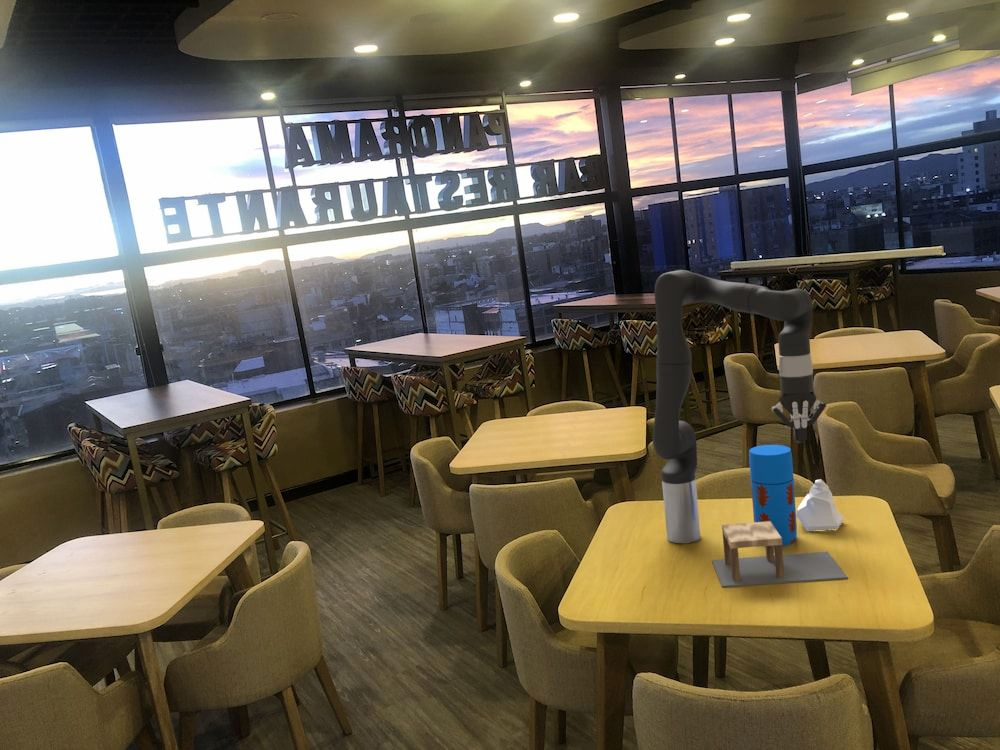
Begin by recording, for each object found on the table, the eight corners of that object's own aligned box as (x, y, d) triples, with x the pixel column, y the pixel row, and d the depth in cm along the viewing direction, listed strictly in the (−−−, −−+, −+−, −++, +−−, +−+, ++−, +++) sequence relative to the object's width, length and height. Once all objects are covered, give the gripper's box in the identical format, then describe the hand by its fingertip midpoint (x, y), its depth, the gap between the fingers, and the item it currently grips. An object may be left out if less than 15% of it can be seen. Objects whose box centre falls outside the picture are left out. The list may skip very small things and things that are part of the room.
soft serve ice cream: (848, 522, 228) (858, 478, 223) (830, 544, 217) (840, 498, 212) (804, 506, 236) (813, 463, 230) (785, 527, 225) (793, 483, 219)
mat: (711, 561, 209) (711, 559, 209) (827, 552, 205) (827, 551, 205) (722, 587, 193) (722, 585, 193) (847, 578, 190) (847, 577, 190)
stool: (773, 558, 205) (724, 562, 206) (770, 521, 204) (721, 524, 205) (784, 577, 193) (733, 581, 195) (781, 538, 192) (730, 542, 193)
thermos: (784, 549, 211) (777, 457, 207) (747, 541, 219) (740, 452, 215) (804, 536, 218) (799, 447, 214) (769, 529, 226) (762, 443, 222)
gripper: (820, 367, 197) (824, 436, 199) (764, 373, 198) (769, 441, 201) (829, 372, 189) (833, 443, 192) (771, 378, 191) (776, 448, 194)
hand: (800, 442), depth 197 cm, fingers closed
